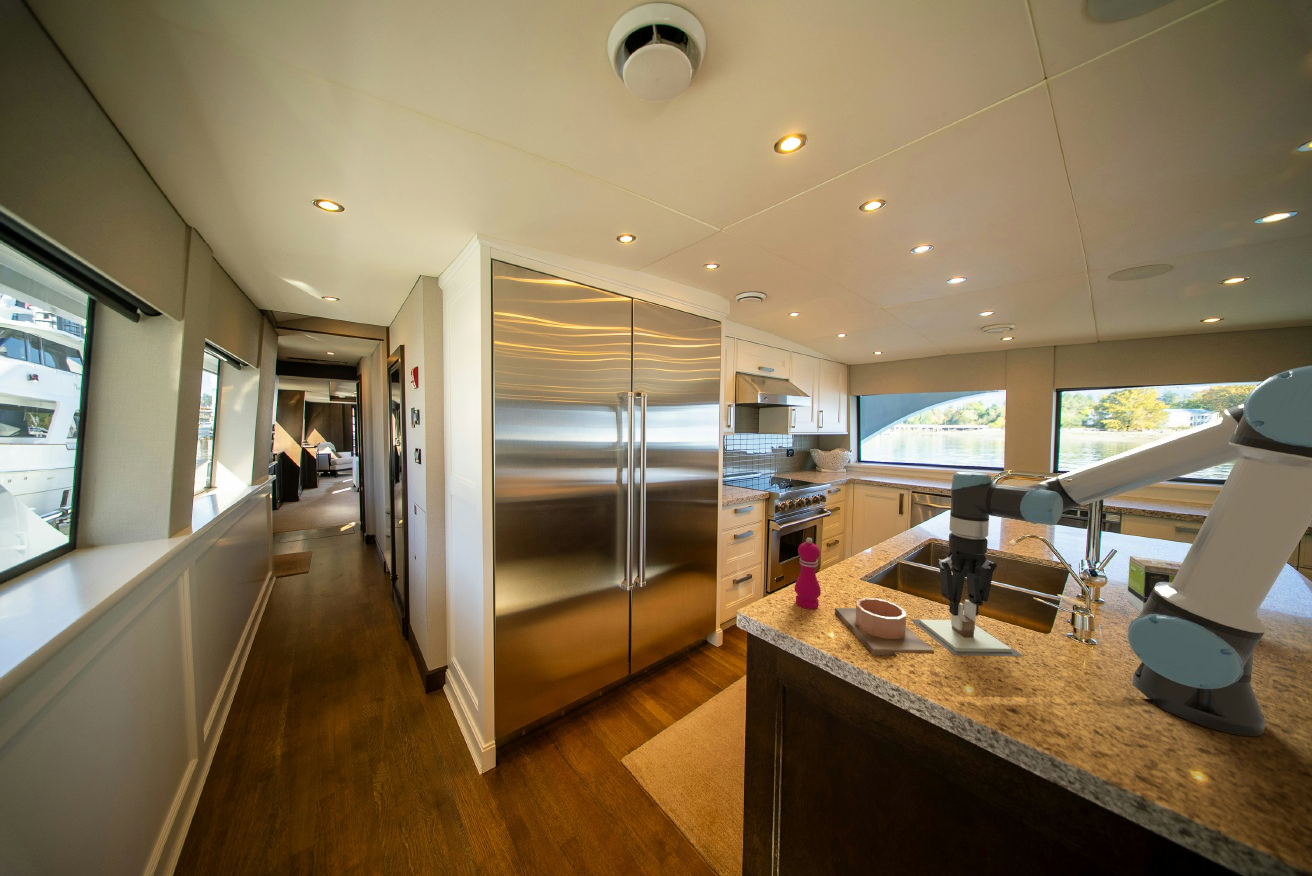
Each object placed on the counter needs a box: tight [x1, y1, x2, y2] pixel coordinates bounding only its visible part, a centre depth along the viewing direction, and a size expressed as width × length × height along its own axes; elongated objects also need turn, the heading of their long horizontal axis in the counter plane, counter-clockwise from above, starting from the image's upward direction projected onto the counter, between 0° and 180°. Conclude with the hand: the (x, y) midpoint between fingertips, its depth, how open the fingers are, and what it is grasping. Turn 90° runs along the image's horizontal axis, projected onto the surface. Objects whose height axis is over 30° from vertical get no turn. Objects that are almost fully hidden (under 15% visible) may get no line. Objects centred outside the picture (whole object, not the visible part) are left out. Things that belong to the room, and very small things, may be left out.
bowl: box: [855, 597, 907, 639], centre depth 102 cm, size 11×11×5 cm
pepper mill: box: [794, 537, 822, 610], centre depth 117 cm, size 7×7×20 cm
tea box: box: [1127, 556, 1183, 613], centre depth 113 cm, size 15×10×15 cm, turn 58°
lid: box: [918, 614, 1013, 652], centre depth 99 cm, size 13×13×5 cm
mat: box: [909, 618, 1024, 657], centre depth 99 cm, size 16×16×1 cm
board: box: [834, 607, 935, 657], centre depth 102 cm, size 20×14×2 cm
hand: (962, 627), depth 99 cm, fingers closed on lid, 2 cm apart
